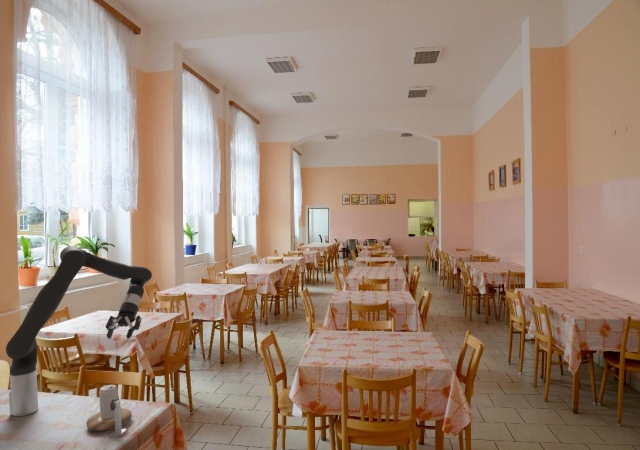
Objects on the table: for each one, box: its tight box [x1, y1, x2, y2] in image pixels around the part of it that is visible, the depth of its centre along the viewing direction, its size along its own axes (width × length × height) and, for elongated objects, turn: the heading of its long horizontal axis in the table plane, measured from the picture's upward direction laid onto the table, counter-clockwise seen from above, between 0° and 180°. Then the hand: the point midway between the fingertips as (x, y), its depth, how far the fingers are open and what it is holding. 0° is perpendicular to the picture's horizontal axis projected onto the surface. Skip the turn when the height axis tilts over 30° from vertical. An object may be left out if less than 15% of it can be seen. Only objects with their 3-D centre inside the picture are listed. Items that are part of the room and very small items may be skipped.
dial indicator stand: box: [110, 398, 128, 438], centre depth 162 cm, size 4×5×13 cm
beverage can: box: [98, 384, 119, 420], centre depth 170 cm, size 6×6×12 cm
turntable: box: [85, 408, 133, 432], centre depth 170 cm, size 16×16×1 cm
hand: (118, 337), depth 186 cm, fingers open, 8 cm apart
